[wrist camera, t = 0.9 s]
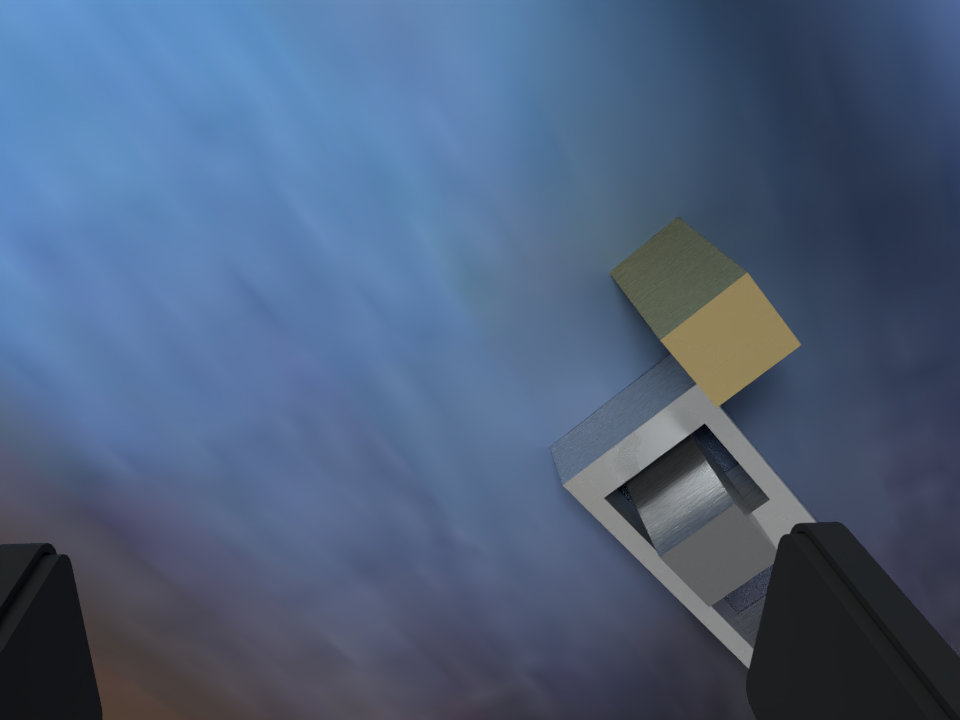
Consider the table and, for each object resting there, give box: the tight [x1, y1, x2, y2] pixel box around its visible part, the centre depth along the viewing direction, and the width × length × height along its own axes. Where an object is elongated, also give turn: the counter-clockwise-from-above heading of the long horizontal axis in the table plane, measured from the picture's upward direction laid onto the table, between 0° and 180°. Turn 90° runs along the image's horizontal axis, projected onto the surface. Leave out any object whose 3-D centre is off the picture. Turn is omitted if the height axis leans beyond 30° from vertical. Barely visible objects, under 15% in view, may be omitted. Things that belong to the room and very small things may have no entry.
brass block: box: [610, 217, 801, 407], centre depth 34 cm, size 4×4×8 cm
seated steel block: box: [625, 433, 777, 607], centre depth 38 cm, size 4×4×8 cm
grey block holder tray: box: [550, 354, 817, 669], centre depth 42 cm, size 8×19×4 cm, turn 41°
